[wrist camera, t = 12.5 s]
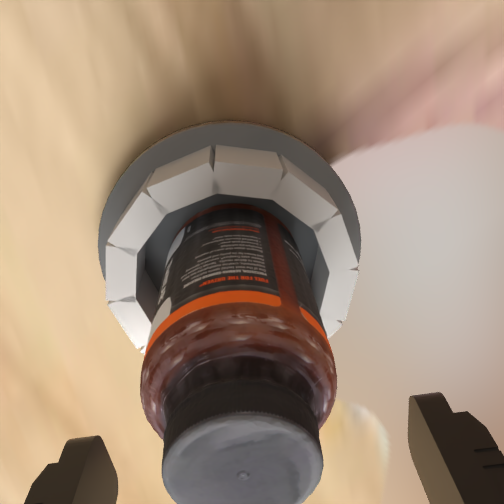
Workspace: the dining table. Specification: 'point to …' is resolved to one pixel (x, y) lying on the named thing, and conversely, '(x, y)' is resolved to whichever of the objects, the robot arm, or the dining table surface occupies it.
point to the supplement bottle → (237, 363)
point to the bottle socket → (225, 192)
